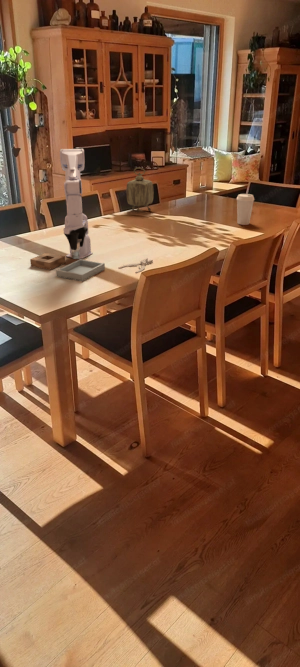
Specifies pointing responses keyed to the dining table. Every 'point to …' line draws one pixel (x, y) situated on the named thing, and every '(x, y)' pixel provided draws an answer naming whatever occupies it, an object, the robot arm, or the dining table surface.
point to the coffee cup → (244, 208)
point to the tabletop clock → (139, 191)
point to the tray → (80, 270)
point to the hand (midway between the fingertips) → (77, 247)
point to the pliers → (143, 263)
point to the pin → (76, 252)
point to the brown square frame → (47, 261)
